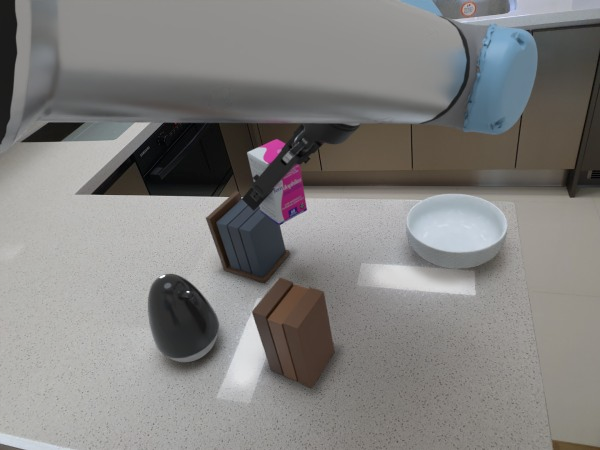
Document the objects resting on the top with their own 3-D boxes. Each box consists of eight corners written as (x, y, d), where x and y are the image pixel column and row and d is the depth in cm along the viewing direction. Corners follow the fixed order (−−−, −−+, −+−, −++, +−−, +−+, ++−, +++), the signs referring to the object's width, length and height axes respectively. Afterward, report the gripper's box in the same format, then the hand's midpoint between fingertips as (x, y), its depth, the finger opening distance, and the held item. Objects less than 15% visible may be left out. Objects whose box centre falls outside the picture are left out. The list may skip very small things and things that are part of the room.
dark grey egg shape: (197, 382, 69) (164, 315, 60) (150, 358, 75) (113, 293, 66) (238, 333, 76) (213, 265, 67) (192, 314, 81) (163, 249, 72)
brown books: (312, 388, 66) (297, 328, 58) (270, 370, 69) (251, 311, 61) (334, 351, 70) (323, 291, 62) (294, 336, 74) (279, 277, 66)
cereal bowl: (510, 285, 75) (515, 252, 71) (405, 282, 79) (404, 251, 75) (496, 221, 88) (500, 190, 84) (407, 222, 92) (406, 193, 88)
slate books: (264, 283, 84) (249, 229, 77) (223, 270, 89) (205, 217, 82) (290, 253, 90) (278, 199, 82) (250, 242, 95) (235, 190, 87)
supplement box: (280, 227, 72) (265, 163, 66) (260, 212, 77) (244, 151, 70) (309, 210, 75) (297, 148, 68) (288, 197, 79) (275, 137, 72)
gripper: (322, 164, 52) (243, 243, 69) (391, 93, 64) (309, 175, 82) (274, 117, 51) (207, 208, 69) (353, 54, 64) (279, 145, 81)
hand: (263, 190), depth 75 cm, fingers closed on supplement box, 7 cm apart
